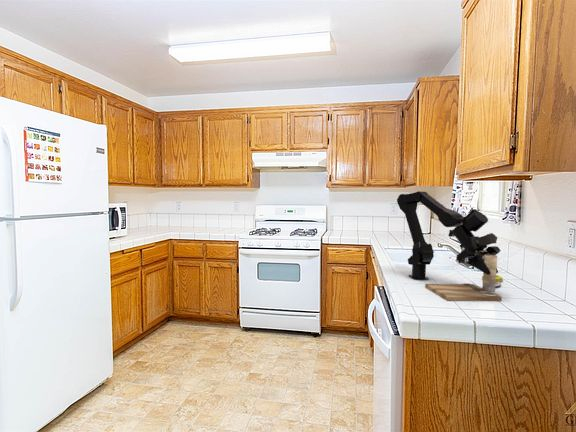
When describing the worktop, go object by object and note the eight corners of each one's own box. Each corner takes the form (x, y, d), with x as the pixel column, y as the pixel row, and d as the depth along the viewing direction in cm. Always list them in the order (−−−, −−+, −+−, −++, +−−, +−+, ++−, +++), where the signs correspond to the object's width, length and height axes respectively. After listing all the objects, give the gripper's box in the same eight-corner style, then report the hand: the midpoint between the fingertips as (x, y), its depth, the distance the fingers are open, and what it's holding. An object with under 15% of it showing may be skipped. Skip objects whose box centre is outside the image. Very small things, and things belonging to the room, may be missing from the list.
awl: (480, 290, 124) (483, 255, 123) (484, 288, 127) (486, 254, 126) (493, 292, 121) (495, 257, 120) (496, 290, 124) (498, 255, 123)
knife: (503, 292, 134) (502, 278, 156) (503, 285, 134) (502, 273, 155) (480, 288, 138) (482, 276, 160) (481, 282, 138) (482, 270, 159)
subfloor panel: (425, 287, 137) (425, 282, 137) (473, 287, 138) (473, 283, 138) (447, 300, 120) (447, 295, 120) (501, 300, 122) (501, 295, 121)
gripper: (465, 226, 122) (494, 263, 113) (497, 225, 130) (526, 259, 121) (445, 245, 129) (470, 280, 120) (476, 242, 138) (502, 275, 129)
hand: (493, 273), depth 123 cm, fingers closed on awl, 4 cm apart
